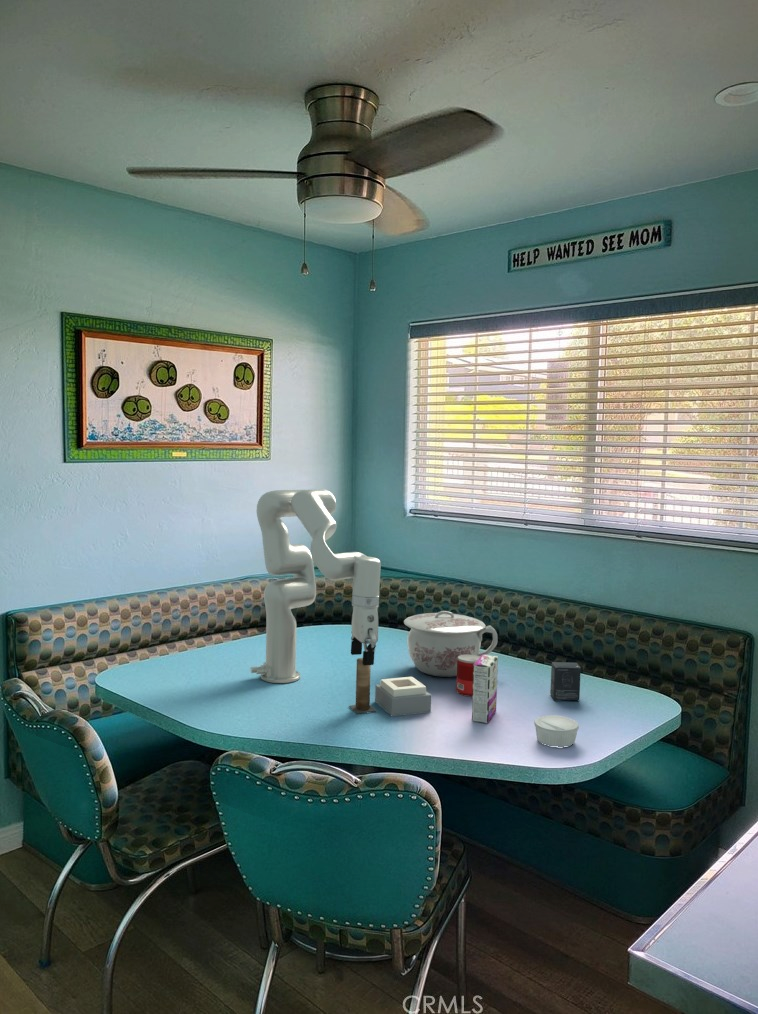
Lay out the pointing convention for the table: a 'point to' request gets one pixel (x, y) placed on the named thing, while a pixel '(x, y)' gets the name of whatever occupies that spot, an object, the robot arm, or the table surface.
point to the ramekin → (556, 730)
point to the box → (565, 681)
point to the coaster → (362, 710)
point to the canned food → (465, 674)
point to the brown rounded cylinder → (362, 685)
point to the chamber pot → (444, 641)
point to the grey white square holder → (403, 696)
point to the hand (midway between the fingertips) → (361, 659)
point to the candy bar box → (484, 688)
